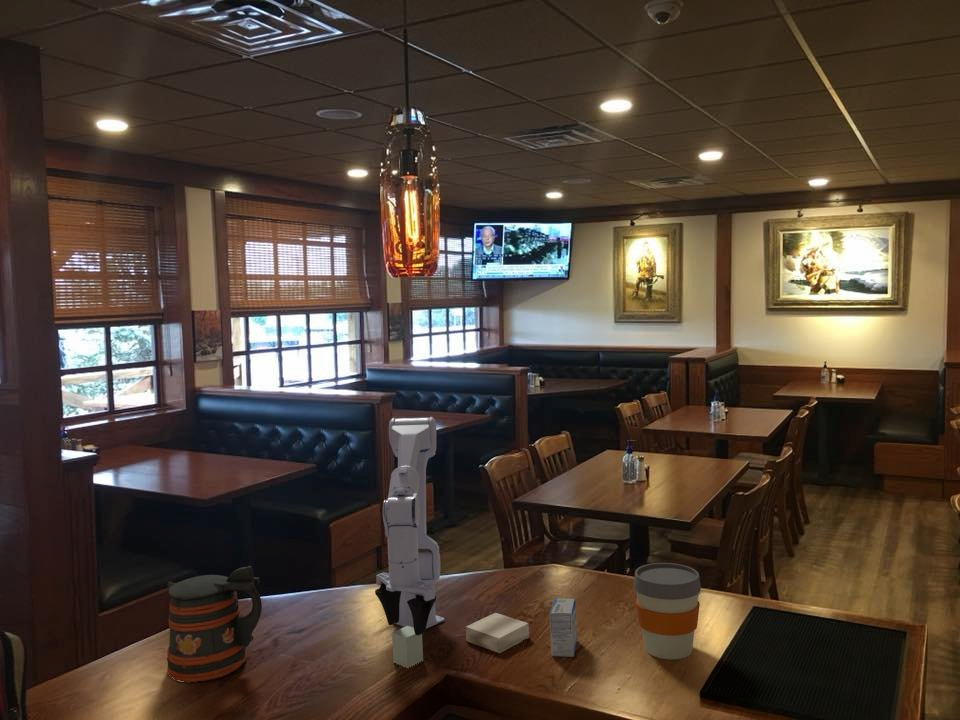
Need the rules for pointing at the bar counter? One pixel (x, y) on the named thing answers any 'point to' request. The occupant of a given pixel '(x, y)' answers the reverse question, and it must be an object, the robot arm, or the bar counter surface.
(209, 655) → the beer stein
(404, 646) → the sage block
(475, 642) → the birch block
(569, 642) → the medicine box
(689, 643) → the reusable coffee cup
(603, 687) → the bar counter surface
